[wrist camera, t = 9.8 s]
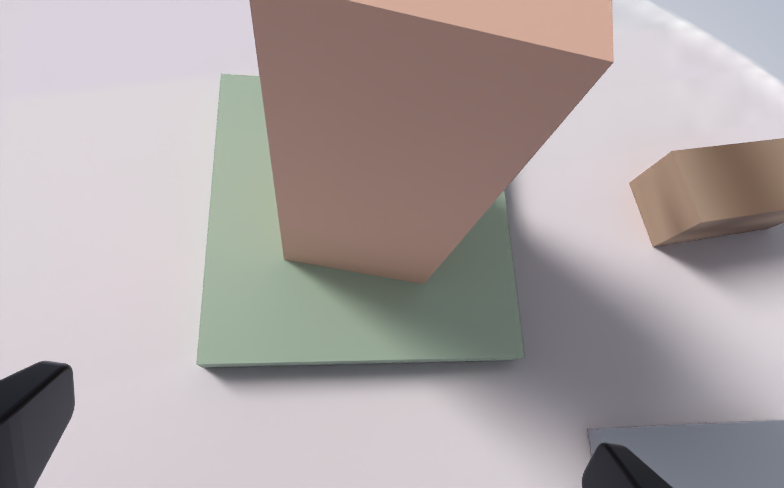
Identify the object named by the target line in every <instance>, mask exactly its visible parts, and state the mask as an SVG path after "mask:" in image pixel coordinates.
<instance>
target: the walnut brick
mask: <svg viewBox="0 0 784 488" xmlns="http://www.w3.org/2000/svg"><path fill="white" fill-rule="evenodd" d="M629 184H630V187H631V190H632V192H633V195H634V198H635V200H636V203H637V206H638V208H639V211H640V214H641V216H642V219H643V222H644V224H645V227H646V230H647V233H648V235H649V238H650V241H651V243H652V246H653V247H656V246H662V245H669V244H675V243H681V242H687V241H694V240H700V239H706V238H712V237H719V236H725V235H731V234H737V233H744V232H750V231H756V230H762V229H768V228H771V227H773V226H775V225H778V224H780V223H783V222H784V138H782V139H773V140H765V141H756V142H747V143H738V144H729V145H721V146H712V147H703V148H694V149H686V150H677V151H672V152H670V153H669V154H668V155H666V156H665V157H664V158H662V159H661V160H659V161H658V162H657V163H655V164H654V165H653V166H651V167H650V168H649V169H647V170H646V171H645V172H643V173H642V174H641V175H639V176H638V177H637V178H635V179H634V180H633V181H631V182H630V183H629Z"/></svg>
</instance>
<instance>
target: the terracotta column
mask: <svg viewBox="0 0 784 488" xmlns="http://www.w3.org/2000/svg"><path fill="white" fill-rule="evenodd" d="M250 7H251V15H252V23H253V30H254V38H255V45H256V53H257V60H258V68H259V75H260V83H261V90H262V98H263V105H264V113H265V121H266V128H267V136H268V143H269V151H270V158H271V166H272V173H273V181H274V188H275V196H276V203H277V211H278V219H279V226H280V234H281V241H282V249H283V256H284V260H289V261H295V262H301V263H306V264H312V265H318V266H323V267H329V268H335V269H341V270H346V271H352V272H358V273H363V274H369V275H375V276H380V277H386V278H392V279H397V280H403V281H409V282H414V283H420V284H424V283H425V282H426V281H427V280H428V279H429V278H430V276H431V275H432V274H433V273H434V272H435V271H436V269H437V268H438V267H439V266H440V265H441V264H442V262H443V261H444V260H445V259H446V258H447V257H448V255H449V254H450V253H451V252H452V251H453V250H454V248H455V247H456V246H457V245H458V244H459V242H460V241H461V240H462V239H463V238H464V237H465V235H466V234H467V233H468V232H469V231H470V230H471V228H472V227H473V226H474V225H475V224H476V223H477V221H478V220H479V219H480V218H481V217H482V216H483V214H484V213H485V212H486V211H487V210H488V209H489V207H490V206H491V205H492V204H493V203H494V201H495V200H496V199H497V198H498V197H499V196H500V194H501V193H502V192H503V191H504V190H505V189H506V187H507V186H508V185H509V184H510V183H511V182H512V180H513V179H514V178H515V177H516V176H517V175H518V173H519V172H520V171H521V170H522V169H523V168H524V166H525V165H526V164H527V163H528V162H529V160H530V159H531V158H532V157H533V156H534V155H535V153H536V152H537V151H538V150H539V149H540V148H541V146H542V145H543V144H544V143H545V142H546V141H547V139H548V138H549V137H550V136H551V135H552V134H553V132H554V131H555V130H556V129H557V128H558V127H559V125H560V124H561V123H562V122H563V121H564V119H565V118H566V117H567V116H568V115H569V114H570V112H571V111H572V110H573V109H574V108H575V107H576V105H577V104H578V103H579V102H580V101H581V100H582V98H583V97H584V96H585V95H586V94H587V93H588V91H589V90H590V89H591V88H592V87H593V86H594V84H595V83H596V82H597V81H598V80H599V78H600V77H601V76H602V75H603V74H604V73H605V71H606V70H607V69H608V68H609V67H610V66H611V64H612V63H613V62H614V60H613V18H612V0H250Z"/></svg>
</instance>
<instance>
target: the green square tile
mask: <svg viewBox="0 0 784 488" xmlns="http://www.w3.org/2000/svg"><path fill="white" fill-rule="evenodd" d="M523 357H525V356H524V348H523V339H522V331H521V323H520V315H519V307H518V298H517V290H516V282H515V274H514V266H513V258H512V249H511V241H510V233H509V225H508V217H507V208H506V200H505V192H504V191H503V192H502V193H501V194H500V196H499V197H498V198H497V199H496V200H495V201H494V203H493V204H492V205H491V206H490V207H489V209H488V210H487V211H486V212H485V213H484V214H483V216H482V217H481V218H480V219H479V220H478V221H477V223H476V224H475V225H474V226H473V227H472V228H471V230H470V231H469V232H468V233H467V234H466V235H465V237H464V238H463V239H462V240H461V241H460V242H459V244H458V245H457V246H456V247H455V248H454V250H453V251H452V252H451V253H450V254H449V255H448V257H447V258H446V259H445V260H444V261H443V262H442V264H441V265H440V266H439V267H438V268H437V269H436V271H435V272H434V273H433V274H432V275H431V276H430V278H429V279H428V280H427V281H426V282H425V283H424V284H420V283H414V282H409V281H403V280H397V279H392V278H386V277H380V276H375V275H369V274H363V273H358V272H352V271H346V270H341V269H335V268H329V267H323V266H318V265H312V264H306V263H301V262H295V261H289V260H284V256H283V249H282V241H281V234H280V226H279V219H278V211H277V203H276V196H275V188H274V181H273V173H272V166H271V158H270V151H269V143H268V136H267V128H266V121H265V113H264V105H263V98H262V90H261V83H260V76H246V75H231V74H221V80H220V91H219V103H218V115H217V127H216V139H215V151H214V162H213V174H212V186H211V198H210V210H209V221H208V233H207V245H206V257H205V269H204V281H203V292H202V304H201V316H200V328H199V340H198V352H197V363H196V364H197V365H199V366H201V367H242V366H285V365H328V364H371V363H414V362H457V361H500V360H516V359H519V358H523Z"/></svg>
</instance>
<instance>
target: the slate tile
mask: <svg viewBox="0 0 784 488" xmlns="http://www.w3.org/2000/svg"><path fill="white" fill-rule="evenodd" d="M587 430H588V437H589V443H590V449H591V456H592V455H593V453H594V451H595V449H596V448H597V446H598V445H599V444H600V443H603V442H607V443H614V444H620V445H624V446H626V447H627V448H628V449H629V450H631V451H632V452H633V453H634V454H635V455H636V456H637V457H639V458H640V459H641V460H642V461H643V462H644V463H645V464H647V465H648V466H649V467H650V468H651V469H652V470H653V471H655V472H656V473H657V474H658V475H659V476H660V477H661V478H663V479H664V480H665V481H666V482H667V483H668V484H669V485H671V486H672V487H673V488H784V420H767V421H746V422H725V423H704V424H683V425H662V426H641V427H620V428H599V429H587Z"/></svg>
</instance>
